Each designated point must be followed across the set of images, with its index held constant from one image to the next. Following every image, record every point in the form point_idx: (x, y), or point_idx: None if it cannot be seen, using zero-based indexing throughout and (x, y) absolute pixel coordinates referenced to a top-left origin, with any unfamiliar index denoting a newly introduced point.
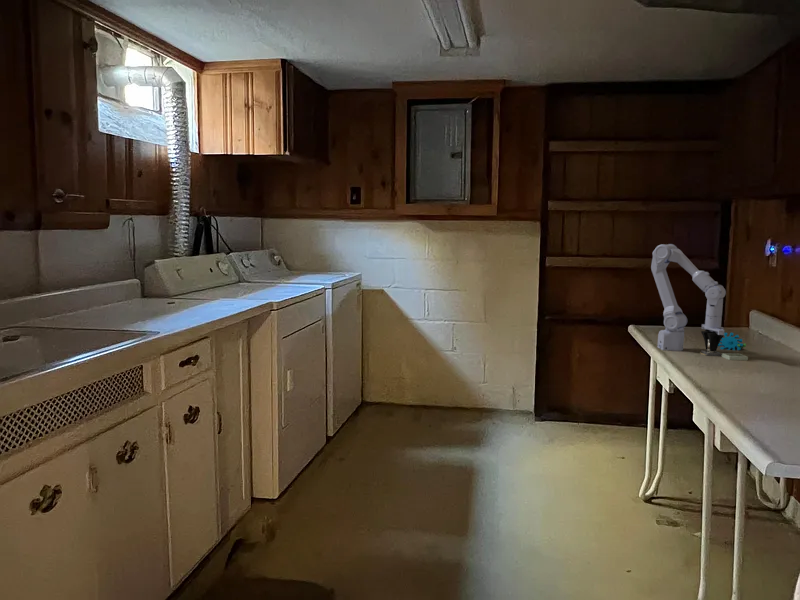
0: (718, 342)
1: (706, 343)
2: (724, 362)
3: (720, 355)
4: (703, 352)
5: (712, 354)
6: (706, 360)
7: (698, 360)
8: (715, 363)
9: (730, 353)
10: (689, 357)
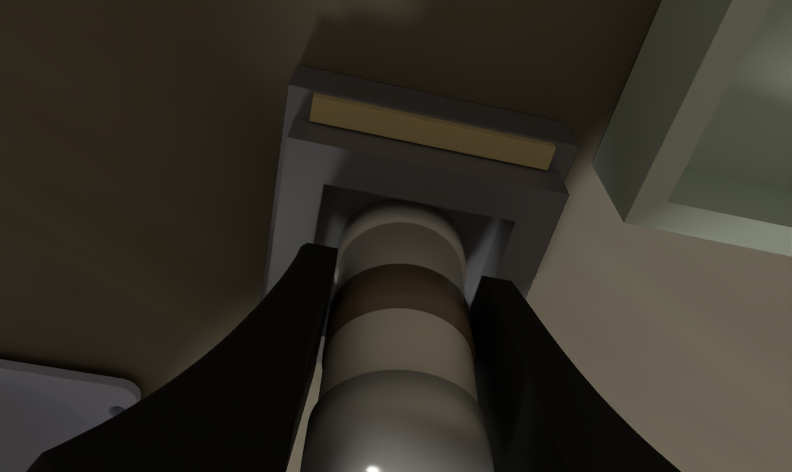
0: (606, 422)
1: (297, 423)
2: (770, 252)
3: (560, 181)
4: None
5: None
6: None
7: None
8: (756, 394)
9: (712, 52)
10: None
